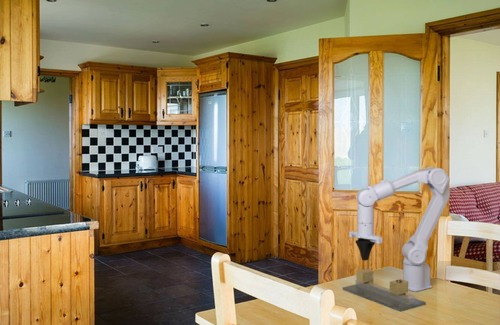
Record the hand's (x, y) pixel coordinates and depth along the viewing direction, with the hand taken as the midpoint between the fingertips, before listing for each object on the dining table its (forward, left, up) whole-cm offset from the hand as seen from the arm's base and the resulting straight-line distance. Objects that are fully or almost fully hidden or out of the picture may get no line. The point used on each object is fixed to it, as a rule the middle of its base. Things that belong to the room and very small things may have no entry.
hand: (365, 259), depth 174 cm
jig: (+3, +11, -10) cm, 15 cm away
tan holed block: (+2, +17, -9) cm, 20 cm away
